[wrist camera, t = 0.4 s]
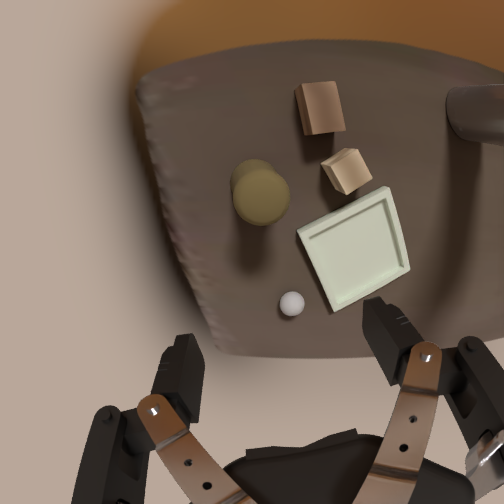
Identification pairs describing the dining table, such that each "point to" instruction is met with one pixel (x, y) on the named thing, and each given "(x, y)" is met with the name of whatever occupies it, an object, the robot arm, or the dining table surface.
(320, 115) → the walnut block
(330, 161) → the maple block
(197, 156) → the dining table surface
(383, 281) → the tray
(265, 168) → the cork
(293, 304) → the grey ball
